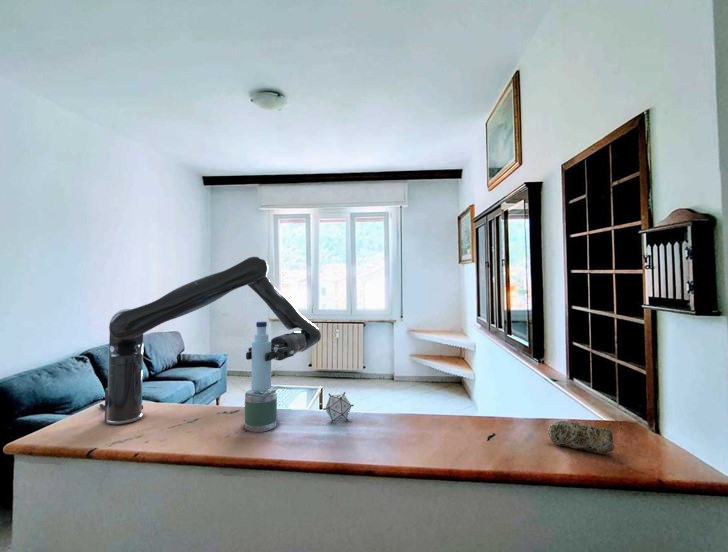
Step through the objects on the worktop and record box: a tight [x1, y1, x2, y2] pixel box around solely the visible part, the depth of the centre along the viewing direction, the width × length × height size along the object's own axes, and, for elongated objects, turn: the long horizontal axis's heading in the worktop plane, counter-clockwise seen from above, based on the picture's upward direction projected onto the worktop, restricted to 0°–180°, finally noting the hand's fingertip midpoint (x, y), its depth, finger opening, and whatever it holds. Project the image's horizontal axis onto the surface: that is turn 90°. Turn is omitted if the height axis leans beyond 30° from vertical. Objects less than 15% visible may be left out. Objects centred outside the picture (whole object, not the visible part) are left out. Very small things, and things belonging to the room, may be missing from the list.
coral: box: [547, 419, 615, 455], centre depth 102 cm, size 14×6×6 cm, turn 59°
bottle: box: [250, 321, 272, 392], centre depth 118 cm, size 6×6×20 cm
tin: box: [244, 387, 278, 433], centre depth 117 cm, size 9×9×10 cm
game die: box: [322, 391, 355, 424], centre depth 121 cm, size 9×8×10 cm
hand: (256, 356), depth 115 cm, fingers closed on bottle, 5 cm apart
